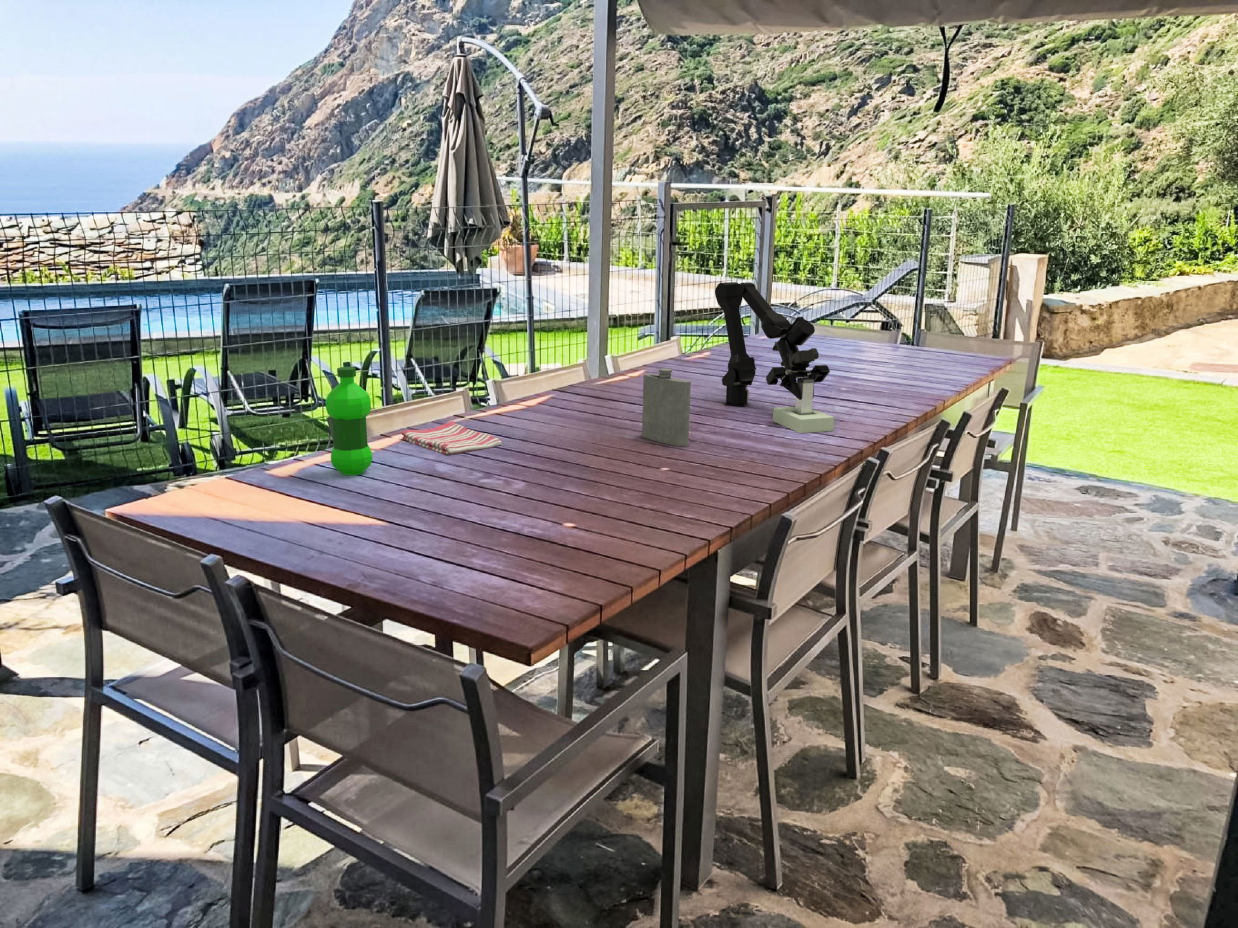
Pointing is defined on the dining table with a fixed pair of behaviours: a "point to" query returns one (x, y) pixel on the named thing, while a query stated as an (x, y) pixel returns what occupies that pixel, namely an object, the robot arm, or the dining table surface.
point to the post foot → (803, 420)
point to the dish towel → (451, 439)
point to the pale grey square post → (805, 396)
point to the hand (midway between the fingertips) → (806, 398)
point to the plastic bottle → (349, 424)
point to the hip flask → (666, 408)
